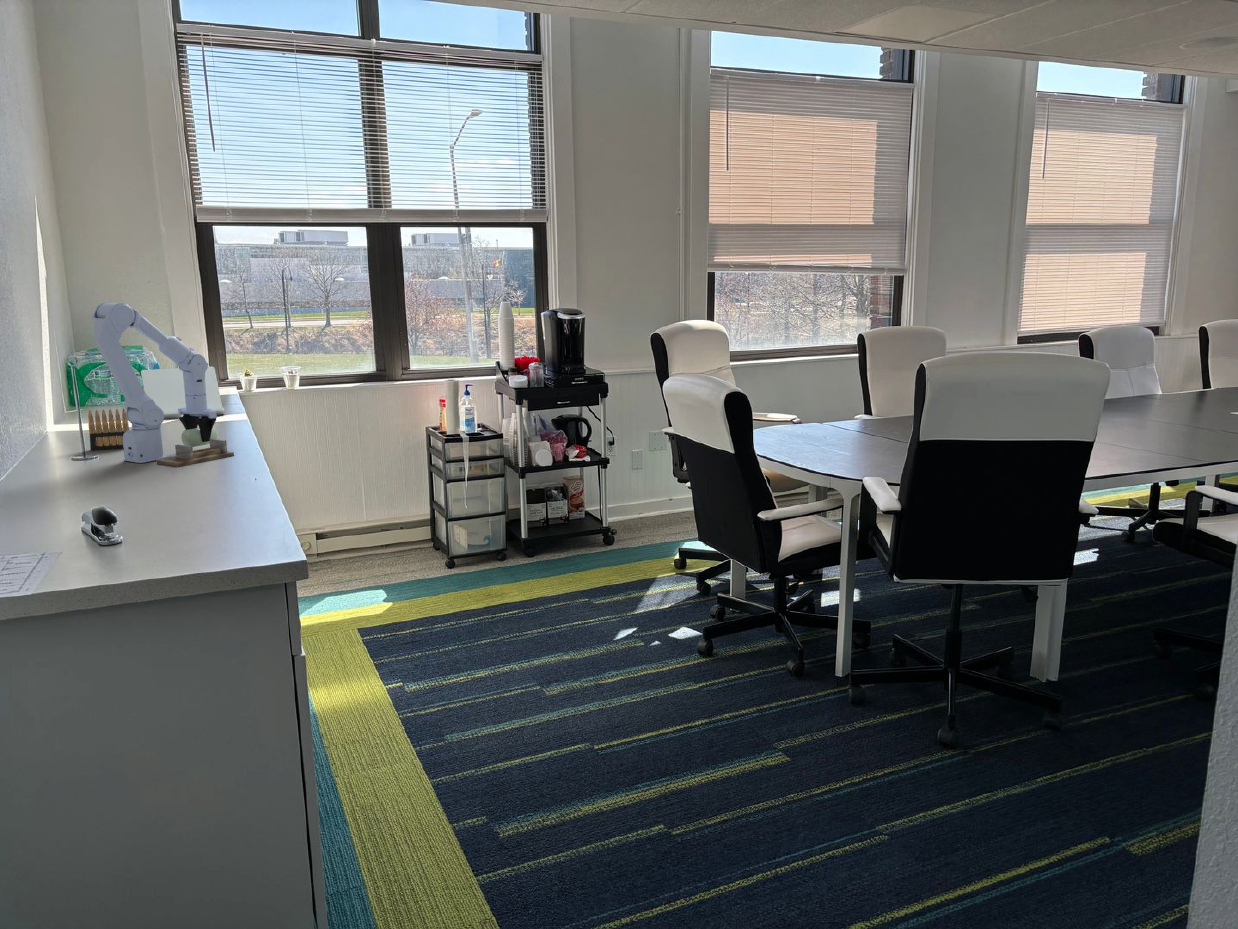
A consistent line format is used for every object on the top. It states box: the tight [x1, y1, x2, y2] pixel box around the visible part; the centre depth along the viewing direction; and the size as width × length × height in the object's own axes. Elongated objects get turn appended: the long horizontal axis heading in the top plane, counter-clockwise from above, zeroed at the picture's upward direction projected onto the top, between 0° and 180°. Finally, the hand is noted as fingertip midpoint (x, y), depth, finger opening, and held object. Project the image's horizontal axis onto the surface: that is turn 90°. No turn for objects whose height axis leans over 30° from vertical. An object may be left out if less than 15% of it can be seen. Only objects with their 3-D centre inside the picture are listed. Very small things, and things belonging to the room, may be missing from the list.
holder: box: [156, 438, 235, 468], centre depth 257 cm, size 18×9×4 cm, turn 151°
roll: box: [181, 427, 218, 448], centre depth 269 cm, size 8×5×5 cm, turn 151°
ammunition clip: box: [88, 407, 130, 452], centre depth 272 cm, size 11×2×12 cm, turn 114°
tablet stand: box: [140, 366, 225, 420], centre depth 337 cm, size 18×25×17 cm
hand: (199, 440), depth 269 cm, fingers closed on roll, 5 cm apart
